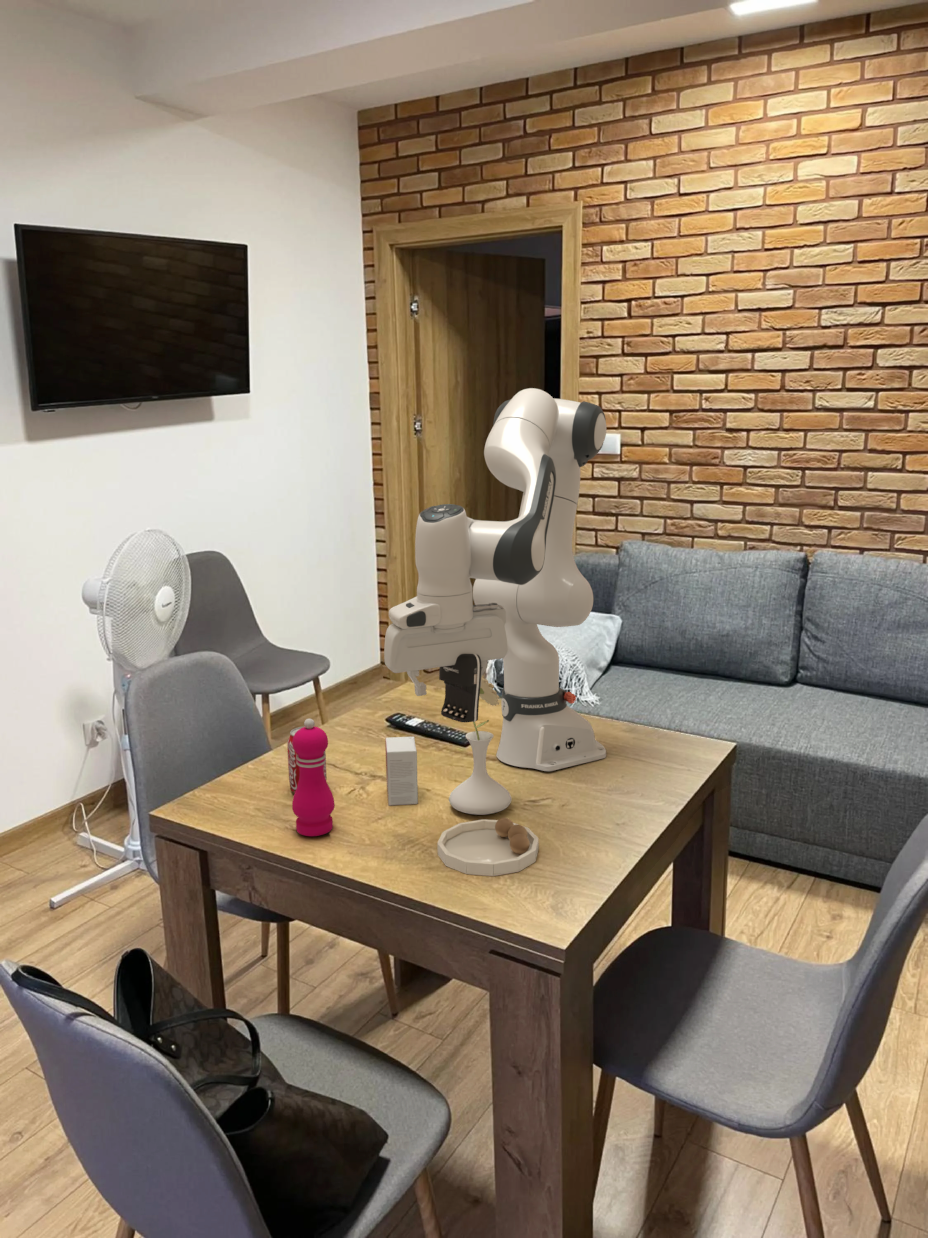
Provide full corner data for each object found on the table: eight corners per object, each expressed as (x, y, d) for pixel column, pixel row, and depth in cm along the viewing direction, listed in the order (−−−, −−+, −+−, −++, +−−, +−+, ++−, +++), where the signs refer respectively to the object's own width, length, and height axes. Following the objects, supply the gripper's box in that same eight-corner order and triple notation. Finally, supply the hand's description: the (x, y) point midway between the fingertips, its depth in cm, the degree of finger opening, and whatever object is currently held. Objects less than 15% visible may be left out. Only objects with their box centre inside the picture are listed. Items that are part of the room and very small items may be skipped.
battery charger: (433, 716, 159) (436, 648, 157) (450, 712, 162) (454, 646, 160) (462, 726, 154) (466, 656, 152) (479, 722, 157) (483, 653, 155)
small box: (386, 789, 184) (384, 737, 182) (415, 787, 184) (414, 735, 182) (387, 806, 176) (385, 751, 174) (418, 804, 177) (416, 750, 174)
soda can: (319, 799, 179) (316, 738, 177) (284, 797, 181) (280, 736, 178) (332, 785, 186) (329, 726, 184) (297, 782, 188) (294, 724, 185)
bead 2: (522, 838, 161) (522, 820, 160) (530, 846, 158) (530, 828, 157) (505, 841, 160) (505, 823, 159) (512, 849, 157) (512, 831, 156)
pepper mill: (316, 841, 162) (311, 728, 158) (284, 832, 166) (278, 721, 162) (344, 825, 168) (339, 716, 164) (312, 816, 172) (306, 709, 168)
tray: (515, 825, 167) (515, 814, 167) (553, 865, 153) (553, 853, 152) (427, 839, 162) (426, 828, 162) (457, 882, 148) (457, 870, 147)
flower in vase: (518, 817, 171) (518, 681, 165) (455, 824, 168) (453, 686, 163) (500, 789, 183) (500, 662, 178) (441, 795, 181) (439, 666, 175)
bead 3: (525, 847, 158) (525, 829, 157) (532, 855, 155) (532, 837, 154) (506, 850, 157) (506, 832, 156) (514, 859, 154) (514, 840, 153)
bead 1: (510, 831, 164) (509, 813, 163) (517, 838, 161) (517, 821, 160) (492, 834, 163) (492, 816, 162) (499, 841, 160) (499, 823, 159)
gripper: (498, 597, 160) (500, 676, 163) (379, 611, 153) (383, 693, 157) (513, 605, 154) (514, 687, 158) (389, 619, 148) (394, 705, 151)
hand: (448, 690), depth 157 cm, fingers open, 8 cm apart
